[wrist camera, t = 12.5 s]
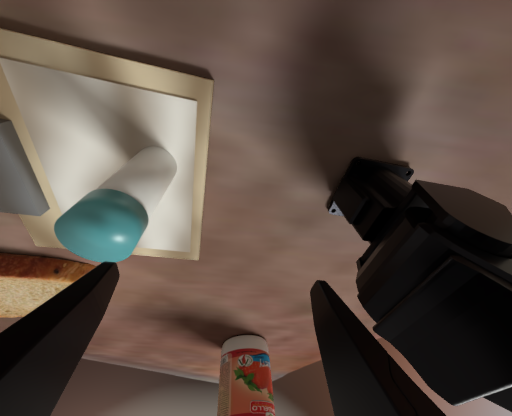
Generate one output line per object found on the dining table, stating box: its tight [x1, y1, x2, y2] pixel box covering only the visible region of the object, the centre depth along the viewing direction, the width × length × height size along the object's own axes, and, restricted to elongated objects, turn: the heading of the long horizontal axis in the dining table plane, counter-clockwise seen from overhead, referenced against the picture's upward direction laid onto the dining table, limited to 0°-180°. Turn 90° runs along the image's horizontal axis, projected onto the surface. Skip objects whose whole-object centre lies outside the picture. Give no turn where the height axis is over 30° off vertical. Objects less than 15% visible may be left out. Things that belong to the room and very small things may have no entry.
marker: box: [54, 146, 177, 262], centre depth 13 cm, size 3×3×9 cm
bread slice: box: [0, 253, 97, 318], centre depth 24 cm, size 18×18×4 cm
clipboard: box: [0, 28, 214, 260], centre depth 18 cm, size 17×19×2 cm
